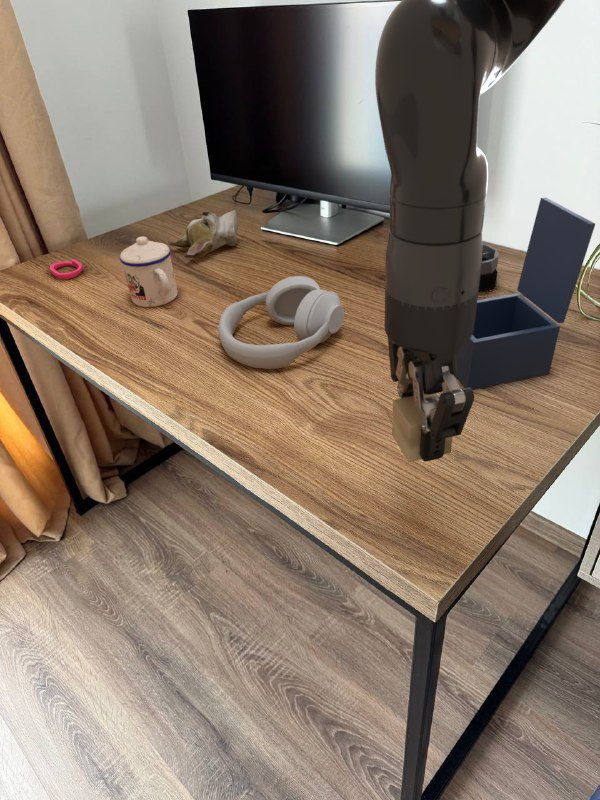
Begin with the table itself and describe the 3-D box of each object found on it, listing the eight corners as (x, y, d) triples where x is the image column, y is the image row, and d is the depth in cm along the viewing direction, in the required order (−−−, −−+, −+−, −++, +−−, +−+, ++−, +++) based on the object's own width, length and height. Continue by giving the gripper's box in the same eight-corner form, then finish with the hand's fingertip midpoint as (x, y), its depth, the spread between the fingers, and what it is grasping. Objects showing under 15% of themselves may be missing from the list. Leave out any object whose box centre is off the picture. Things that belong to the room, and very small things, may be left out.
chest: (467, 390, 81) (473, 342, 77) (435, 352, 90) (439, 306, 85) (549, 374, 83) (560, 326, 79) (510, 337, 92) (518, 292, 87)
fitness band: (89, 273, 122) (87, 266, 121) (62, 282, 119) (60, 275, 118) (72, 262, 127) (70, 256, 126) (46, 271, 124) (44, 264, 123)
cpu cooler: (493, 239, 109) (505, 262, 100) (489, 268, 112) (500, 292, 104) (436, 241, 109) (443, 264, 101) (434, 270, 113) (441, 294, 105)
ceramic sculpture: (245, 208, 121) (178, 230, 116) (252, 248, 127) (188, 270, 121) (223, 196, 129) (160, 216, 124) (231, 234, 134) (170, 254, 129)
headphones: (303, 296, 106) (207, 346, 99) (295, 257, 101) (193, 307, 94) (367, 337, 93) (261, 396, 87) (361, 294, 88) (249, 355, 82)
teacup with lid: (123, 296, 112) (107, 237, 105) (166, 282, 116) (154, 224, 109) (149, 319, 104) (134, 257, 97) (194, 303, 108) (183, 242, 101)
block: (432, 425, 60) (435, 390, 57) (451, 452, 57) (455, 417, 54) (391, 434, 59) (392, 399, 57) (408, 462, 56) (410, 426, 53)
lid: (589, 224, 70) (595, 223, 71) (540, 197, 79) (546, 197, 79) (558, 323, 78) (564, 323, 78) (516, 290, 87) (521, 289, 87)
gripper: (520, 313, 43) (491, 481, 53) (437, 244, 54) (426, 393, 64) (423, 331, 42) (413, 500, 52) (359, 257, 53) (361, 407, 63)
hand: (420, 440), depth 58 cm, fingers closed on block, 4 cm apart
